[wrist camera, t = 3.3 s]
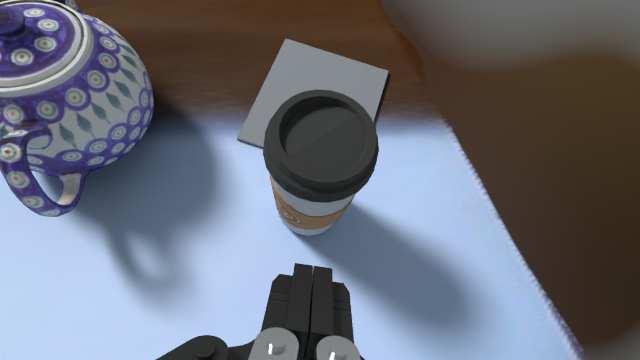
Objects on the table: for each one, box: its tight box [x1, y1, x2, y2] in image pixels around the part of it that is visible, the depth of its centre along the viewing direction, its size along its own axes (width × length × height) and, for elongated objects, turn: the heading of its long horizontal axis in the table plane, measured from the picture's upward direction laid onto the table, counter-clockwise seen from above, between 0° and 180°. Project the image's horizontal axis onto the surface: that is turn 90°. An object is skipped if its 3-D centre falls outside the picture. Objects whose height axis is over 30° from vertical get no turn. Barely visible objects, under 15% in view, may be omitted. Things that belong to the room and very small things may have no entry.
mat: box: [237, 39, 388, 148], centre depth 43 cm, size 16×14×1 cm
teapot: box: [0, 0, 154, 217], centre depth 32 cm, size 25×15×15 cm, turn 10°
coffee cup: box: [263, 89, 379, 236], centre depth 31 cm, size 8×8×15 cm
